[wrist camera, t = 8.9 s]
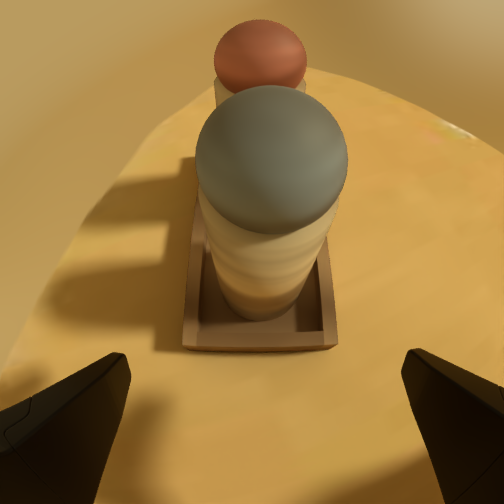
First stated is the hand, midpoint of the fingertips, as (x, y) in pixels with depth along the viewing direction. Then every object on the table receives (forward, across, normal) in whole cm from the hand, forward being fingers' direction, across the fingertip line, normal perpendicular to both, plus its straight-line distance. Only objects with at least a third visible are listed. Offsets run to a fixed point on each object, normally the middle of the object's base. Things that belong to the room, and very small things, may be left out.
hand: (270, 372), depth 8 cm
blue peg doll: (+10, 0, +1) cm, 10 cm away
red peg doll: (+16, 0, -4) cm, 16 cm away
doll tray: (+13, 0, -1) cm, 13 cm away
